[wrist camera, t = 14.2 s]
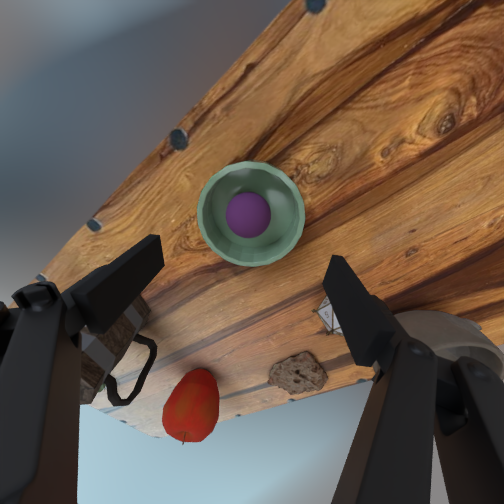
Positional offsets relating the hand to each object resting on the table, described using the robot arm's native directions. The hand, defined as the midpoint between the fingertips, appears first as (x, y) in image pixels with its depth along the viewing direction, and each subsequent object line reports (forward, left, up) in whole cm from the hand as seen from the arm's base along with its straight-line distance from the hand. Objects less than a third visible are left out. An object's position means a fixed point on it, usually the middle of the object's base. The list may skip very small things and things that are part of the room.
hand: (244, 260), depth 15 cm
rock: (+40, +15, -16) cm, 46 cm away
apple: (+45, -9, -16) cm, 49 cm away
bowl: (+21, +33, -16) cm, 42 cm away
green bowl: (0, 0, -15) cm, 15 cm away
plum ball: (0, -1, -12) cm, 12 cm away
